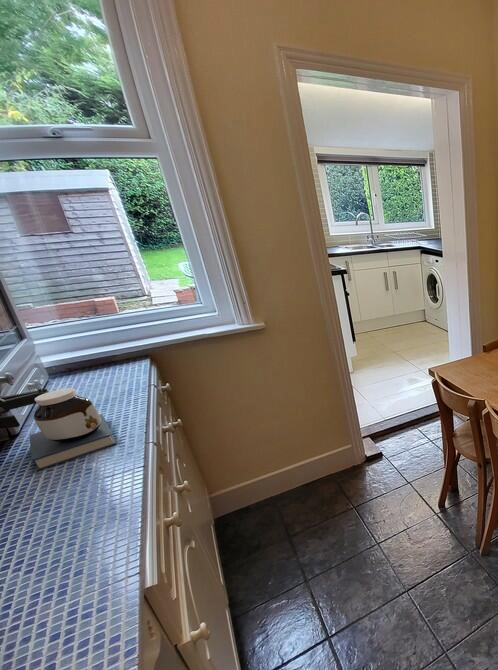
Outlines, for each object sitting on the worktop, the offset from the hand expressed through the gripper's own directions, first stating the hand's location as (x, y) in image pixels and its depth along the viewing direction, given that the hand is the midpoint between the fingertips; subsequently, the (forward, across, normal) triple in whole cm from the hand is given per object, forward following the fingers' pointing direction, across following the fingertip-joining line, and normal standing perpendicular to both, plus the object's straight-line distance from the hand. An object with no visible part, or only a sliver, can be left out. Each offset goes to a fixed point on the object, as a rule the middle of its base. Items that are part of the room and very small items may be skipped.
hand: (43, 407), depth 100 cm
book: (+2, 0, -11) cm, 11 cm away
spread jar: (+3, -1, -8) cm, 9 cm away
